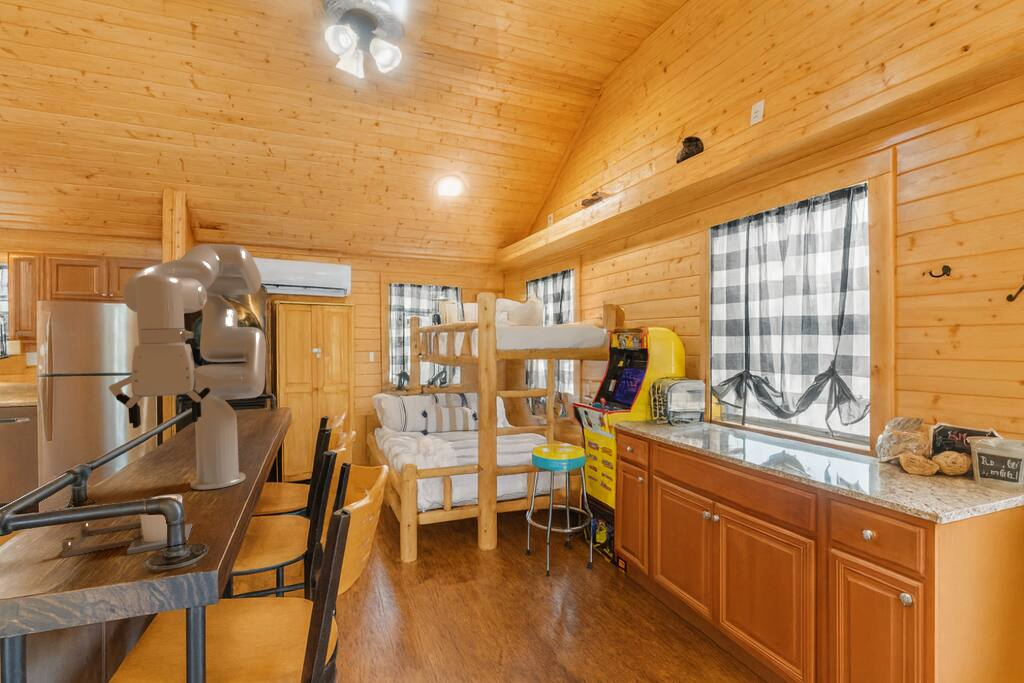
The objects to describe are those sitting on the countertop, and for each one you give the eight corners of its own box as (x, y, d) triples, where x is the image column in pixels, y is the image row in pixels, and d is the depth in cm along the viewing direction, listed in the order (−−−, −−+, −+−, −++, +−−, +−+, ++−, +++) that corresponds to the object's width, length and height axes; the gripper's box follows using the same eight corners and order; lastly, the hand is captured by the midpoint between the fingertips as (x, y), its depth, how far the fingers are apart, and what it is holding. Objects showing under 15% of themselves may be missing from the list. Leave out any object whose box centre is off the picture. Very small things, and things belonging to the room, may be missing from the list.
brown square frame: (82, 535, 97) (81, 522, 97) (152, 523, 102) (152, 511, 102) (61, 557, 87) (61, 543, 87) (141, 543, 92) (140, 530, 92)
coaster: (137, 536, 95) (137, 532, 95) (192, 527, 100) (192, 523, 100) (127, 554, 87) (126, 550, 87) (187, 543, 92) (186, 539, 92)
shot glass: (141, 534, 95) (139, 498, 95) (184, 525, 98) (182, 491, 98) (137, 546, 89) (136, 508, 89) (183, 537, 93) (181, 500, 93)
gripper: (214, 336, 104) (218, 415, 105) (112, 339, 96) (117, 425, 97) (211, 337, 97) (216, 422, 98) (101, 340, 89) (106, 433, 90)
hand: (166, 423), depth 98 cm, fingers open, 9 cm apart
